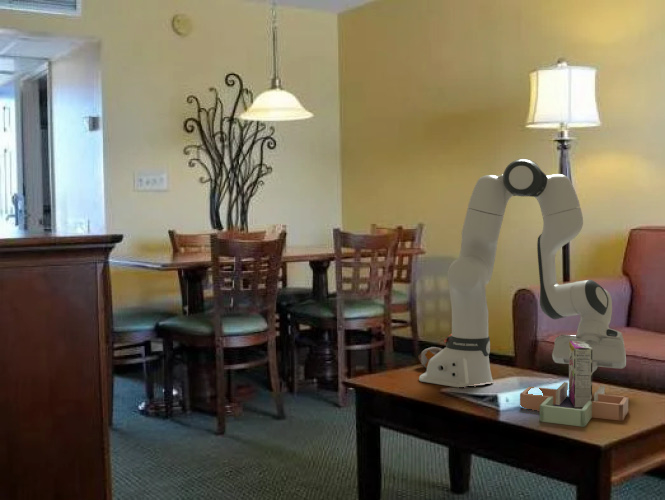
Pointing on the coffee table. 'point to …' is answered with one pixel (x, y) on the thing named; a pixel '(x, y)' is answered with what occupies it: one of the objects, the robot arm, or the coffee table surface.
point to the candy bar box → (580, 373)
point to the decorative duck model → (428, 355)
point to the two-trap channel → (598, 408)
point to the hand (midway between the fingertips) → (585, 376)
